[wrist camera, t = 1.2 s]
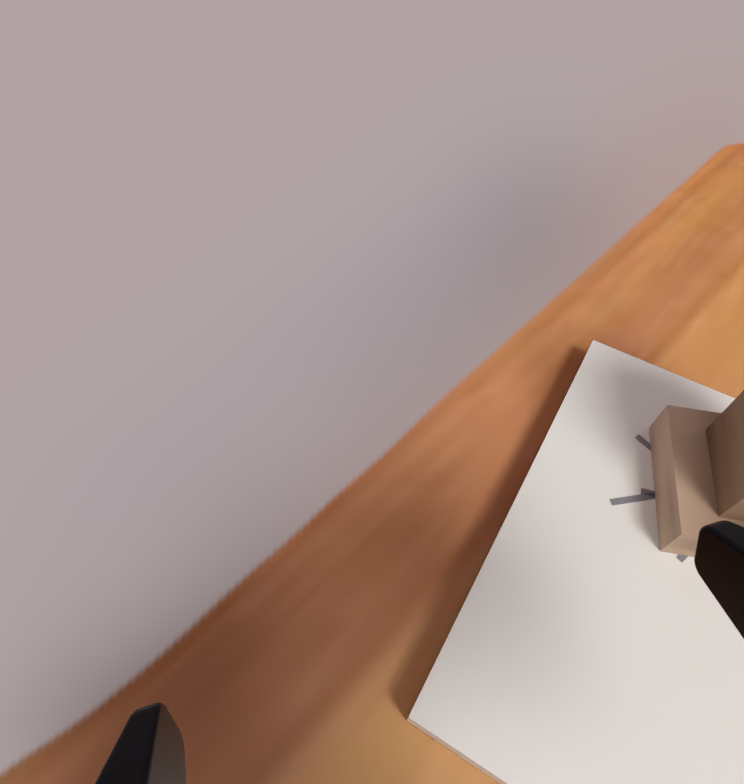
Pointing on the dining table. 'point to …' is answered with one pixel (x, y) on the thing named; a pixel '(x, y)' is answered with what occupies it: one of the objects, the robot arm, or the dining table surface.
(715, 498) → the brown pedestal block
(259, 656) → the dining table surface
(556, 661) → the board
